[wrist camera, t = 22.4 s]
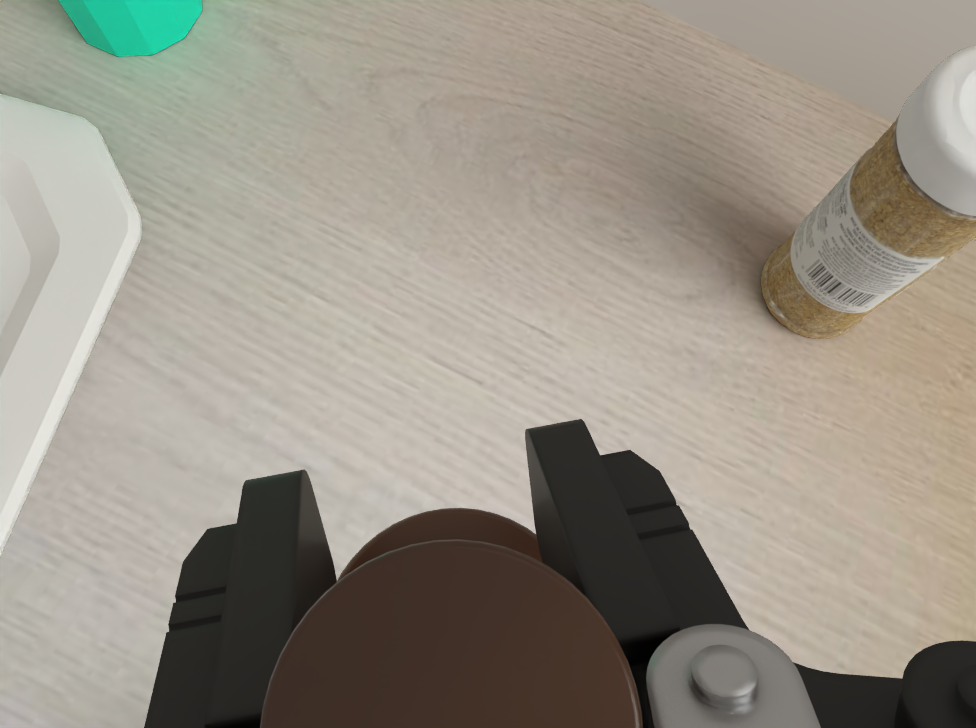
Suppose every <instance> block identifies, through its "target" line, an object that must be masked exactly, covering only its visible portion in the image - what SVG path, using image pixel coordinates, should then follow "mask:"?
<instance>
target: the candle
mask: <svg viewBox="0 0 976 728" xmlns="http://www.w3.org/2000/svg"><path fill="white" fill-rule="evenodd" d="M58 1H59V2H60V4H61V5H62V7H63V8H64V10H65V11H66V13H67V14H68V16H69V17H70V19H71V20H72V22H73V23H74V25H75V26H76V28H77V29H78V31H79V32H80V34H81V35H82V37H83V38H84V39H85V41H86V42H87V44H90V45H92V46H94V47H97V48H99V49H101V50H103V51H106V52H108V53H110V54H113V55H115V56H117V57H122V56H139V55H154V54H156V53H158V52H160V51H161V50H163V49H165V48H167V47H169V46H171V45H172V44H174V43H176V42H178V41H180V40H182V39H183V38H185V37H186V35H187V34H188V32H189V31H190V29H191V28H192V26H193V25H194V23H195V22H196V20H197V18H198V17H199V15H200V14H201V12H202V0H58Z"/></svg>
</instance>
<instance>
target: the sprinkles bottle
mask: <svg viewBox="0 0 976 728" xmlns="http://www.w3.org/2000/svg"><path fill="white" fill-rule="evenodd" d="M975 237H976V45H974V46H970V47H967V48H964V49H961V50H959V51H957V52H956V53H954V54H952V55H951V56H949V57H948V58H946V59H945V60H944V61H943V62H942V63H941V64H939V65H938V66H937V67H936V68H935V69H934V70H933V71H932V72H931V73H930V74H929V75H928V76H927V78H926V79H925V80H924V81H923V82H922V83H921V84H920V85H919V86H918V87H917V89H916V90H915V91H914V92H913V93H912V94H911V95H910V96H909V98H908V99H907V100H906V102H905V103H904V105H903V107H902V109H901V112H900V114H899V116H898V118H897V119H896V121H895V122H894V123H893V124H892V126H891V127H890V128H889V130H887V131H886V132H885V133H884V134H883V135H882V136H881V137H880V139H879V140H878V141H877V142H876V143H875V145H874V146H873V147H872V148H870V149H869V150H868V151H866V152H865V153H864V154H863V155H862V156H861V157H860V159H859V160H858V161H857V162H856V163H855V164H854V165H853V166H852V168H851V169H850V170H849V171H848V172H847V173H846V174H845V175H844V177H843V178H842V179H841V180H840V181H839V182H838V183H837V184H836V185H835V187H834V188H833V189H832V190H831V191H830V192H829V193H828V194H827V195H826V196H825V198H824V199H823V200H822V201H821V202H820V203H819V204H818V205H817V206H816V207H815V208H814V209H813V211H812V212H811V213H810V214H809V215H808V216H807V217H806V218H805V219H804V220H803V221H802V223H801V224H800V225H799V227H798V229H797V230H796V231H795V232H794V234H793V235H792V236H791V237H790V238H789V239H788V240H787V242H785V243H784V244H782V245H781V246H780V247H779V248H778V249H777V250H775V251H774V252H773V253H772V254H771V255H770V257H769V258H768V260H767V261H766V263H765V266H764V269H763V271H762V274H761V287H762V292H763V297H764V300H765V302H766V305H767V307H768V309H769V310H770V312H771V314H772V315H773V316H774V317H775V318H776V319H777V320H778V321H779V322H780V323H781V324H782V325H784V326H786V327H787V328H788V329H789V330H791V331H793V332H795V333H798V334H800V335H803V336H805V337H809V338H831V337H834V336H838V335H841V334H844V333H846V332H848V331H849V330H851V329H852V328H853V327H854V326H855V325H856V324H857V323H859V322H860V321H861V320H862V318H863V317H864V316H865V315H867V314H868V313H870V312H871V311H872V310H874V309H875V308H877V307H878V306H879V305H881V304H882V303H883V302H885V301H887V300H889V299H892V298H893V297H895V296H896V295H898V294H899V293H901V292H902V291H904V290H905V289H907V288H908V287H910V286H911V285H912V284H914V283H915V282H916V281H918V280H919V279H921V278H922V277H924V276H925V275H926V274H928V273H929V272H931V271H932V270H933V269H934V268H935V267H936V266H937V265H938V264H939V263H941V262H943V261H944V260H945V259H947V258H948V257H950V256H951V255H952V254H953V253H955V252H956V251H957V250H959V249H961V248H962V247H963V246H964V245H965V244H967V243H968V242H969V241H971V240H972V239H974V238H975Z"/></svg>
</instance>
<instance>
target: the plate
mask: <svg viewBox="0 0 976 728" xmlns="http://www.w3.org/2000/svg"><path fill="white" fill-rule="evenodd" d="M141 235H142V218H141V216H140V214H139V212H138V209H137V207H136V205H135V203H134V201H133V199H132V197H131V195H130V193H129V191H128V189H127V187H126V185H125V182H124V180H123V178H122V176H121V174H120V172H119V170H118V168H117V166H116V164H115V162H114V160H113V158H112V155H111V153H110V151H109V149H108V147H107V145H106V143H105V141H104V139H103V137H102V135H101V133H100V130H99V129H97V128H96V127H95V126H94V125H92V124H91V123H90V122H89V121H87V120H86V119H85V118H84V117H81V116H78V115H74V114H70V113H67V112H63V111H60V110H56V109H53V108H49V107H46V106H42V105H39V104H35V103H32V102H28V101H25V100H21V99H18V98H14V97H10V96H7V95H3V94H0V556H1V554H2V552H3V550H4V547H5V545H6V543H7V541H8V538H9V536H10V534H11V532H12V529H13V527H14V525H15V523H16V520H17V518H18V516H19V513H20V511H21V509H22V507H23V504H24V502H25V500H26V498H27V495H28V493H29V491H30V489H31V486H32V484H33V482H34V480H35V477H36V475H37V473H38V471H39V468H40V466H41V464H42V462H43V459H44V457H45V455H46V453H47V450H48V448H49V446H50V443H51V441H52V439H53V437H54V434H55V432H56V430H57V428H58V425H59V423H60V421H61V419H62V416H63V414H64V412H65V410H66V407H67V405H68V403H69V401H70V398H71V396H72V394H73V392H74V389H75V387H76V385H77V383H78V380H79V378H80V376H81V374H82V371H83V369H84V367H85V365H86V362H87V360H88V358H89V356H90V353H91V351H92V349H93V347H94V344H95V342H96V340H97V338H98V335H99V333H100V331H101V329H102V326H103V324H104V322H105V320H106V317H107V315H108V313H109V311H110V308H111V306H112V304H113V302H114V299H115V297H116V295H117V293H118V290H119V288H120V286H121V284H122V281H123V279H124V277H125V275H126V272H127V270H128V268H129V266H130V263H131V261H132V259H133V257H134V254H135V252H136V250H137V248H138V245H139V243H140V241H141Z"/></svg>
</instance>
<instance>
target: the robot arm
mask: <svg viewBox="0 0 976 728" xmlns="http://www.w3.org/2000/svg"><path fill="white" fill-rule="evenodd" d="M525 440H526V450H527V459H528V468H529V477H530V486H531V495H532V504H533V513H534V521H535V528H536V535H537V540H538V545H539V550H540V555H541V559H542V563H544V564H545V565H547V566H549V567H551V568H552V569H553V570H555V571H556V572H558V573H559V574H560V575H562V576H563V577H565V578H566V579H567V580H569V581H570V582H571V583H572V584H573V585H574V586H575V587H576V588H577V589H579V590H580V591H581V592H582V593H583V594H584V595H585V596H586V597H587V598H588V599H589V600H590V602H591V603H592V604H593V605H594V606H595V608H596V609H597V610H598V611H599V612H600V614H601V615H602V616H603V617H604V619H605V620H606V622H607V624H608V625H609V627H610V628H611V630H612V631H613V633H614V634H615V636H616V638H617V639H618V642H619V644H620V646H621V648H622V650H623V652H624V654H625V656H626V658H627V660H628V663H629V666H630V669H631V672H632V675H633V678H634V681H635V684H636V687H637V692H638V697H639V702H640V707H641V712H642V723H643V728H976V642H974V641H948V642H943V643H939V644H935V645H932V646H930V647H927V648H925V649H923V650H922V651H920V652H919V653H917V654H916V655H915V656H914V657H913V658H912V659H911V660H910V661H909V663H908V665H907V667H906V669H905V671H904V675H903V679H900V678H887V677H874V676H861V675H848V674H837V673H830V672H823V671H819V670H815V669H811V668H807V667H805V666H802V665H799V664H796V663H794V662H792V661H791V659H790V658H789V657H788V656H787V655H786V654H785V653H784V652H783V651H782V650H781V649H780V648H779V647H778V646H777V645H775V644H774V643H772V642H771V641H770V640H768V639H766V638H764V637H763V636H761V635H759V634H757V633H754V632H752V631H750V630H749V629H748V627H747V626H746V624H745V623H744V621H743V620H742V618H741V616H740V614H739V613H738V611H737V609H736V607H735V605H734V604H733V602H732V600H731V598H730V596H729V595H728V593H727V591H726V589H725V587H724V586H723V584H722V582H721V580H720V578H719V577H718V575H717V573H716V571H715V570H714V568H713V566H712V564H711V562H710V561H709V559H708V557H707V555H706V553H705V552H704V550H703V548H702V546H701V544H700V543H699V541H698V539H697V537H696V535H695V534H694V532H693V530H690V528H689V523H688V521H687V519H686V518H685V516H684V514H683V512H682V510H681V509H680V507H679V505H678V506H677V505H676V500H675V498H674V496H673V494H672V492H671V491H670V489H669V487H668V485H667V484H666V482H665V480H664V478H663V476H662V475H661V473H660V471H659V470H657V469H656V468H654V467H653V466H652V465H650V464H649V463H648V462H646V461H645V460H643V459H642V458H641V457H639V456H638V455H636V454H635V453H634V452H632V451H631V450H627V451H622V452H616V453H611V454H606V455H601V456H600V454H599V452H598V450H597V448H596V446H595V444H594V442H593V439H592V437H591V435H590V433H589V431H588V429H587V427H586V425H585V423H584V421H583V420H582V419H579V420H573V421H568V422H563V423H557V424H552V425H546V426H541V427H535V428H530V429H526V431H525ZM335 583H337V580H336V574H335V569H334V565H333V560H332V557H331V553H330V549H329V546H328V542H327V539H326V535H325V531H324V528H323V524H322V521H321V517H320V513H319V510H318V506H317V503H316V499H315V495H314V492H313V488H312V485H311V481H310V478H309V476H308V474H307V472H306V471H305V470H300V471H294V472H289V473H284V474H278V475H273V476H267V477H262V478H257V479H251V480H246V481H245V482H244V485H243V489H242V495H241V501H240V507H239V513H238V519H237V524H231V525H226V526H221V527H215V528H210V529H207V530H206V532H205V533H204V534H203V536H202V537H201V538H200V540H199V541H198V542H197V544H196V545H195V547H194V548H193V549H192V551H191V552H190V553H189V555H188V556H187V557H186V559H185V560H184V561H183V565H182V569H181V573H180V578H179V582H178V586H177V590H176V595H175V597H176V603H173V607H172V612H171V616H170V620H169V624H168V625H169V632H167V633H166V637H165V641H164V646H163V650H162V654H161V659H160V663H159V667H158V671H157V676H156V680H155V684H154V688H153V693H152V697H151V701H150V705H149V710H148V714H147V718H146V722H145V727H144V728H260V722H261V715H262V708H263V703H264V699H265V696H266V692H267V688H268V685H269V681H270V678H271V675H272V673H273V670H274V668H275V665H276V663H277V661H278V658H279V656H280V653H281V652H282V650H283V648H284V646H285V644H286V643H287V641H288V639H289V637H290V635H291V634H292V632H293V630H294V629H295V628H296V626H297V625H298V623H299V622H300V621H301V619H302V618H303V617H304V615H305V614H306V612H307V611H308V610H309V609H310V608H311V607H312V606H313V605H314V603H315V602H316V601H317V600H318V599H319V598H320V597H321V596H322V595H323V594H324V593H325V592H326V591H327V590H328V589H329V588H331V587H332V586H333V585H334V584H335Z"/></svg>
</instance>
